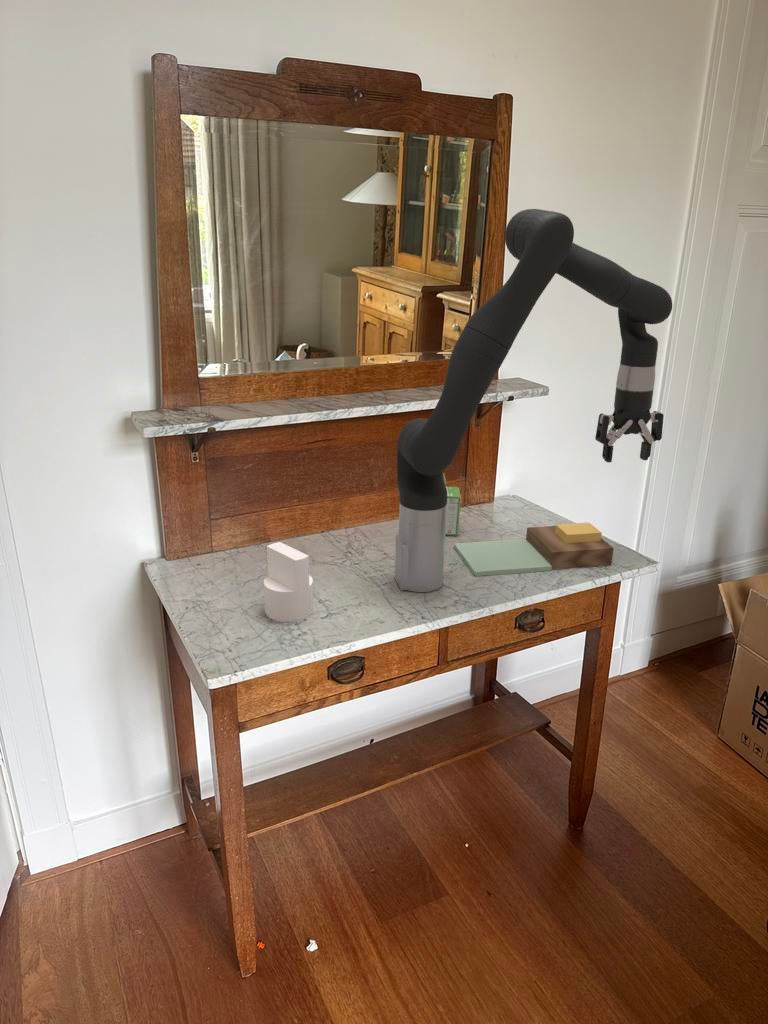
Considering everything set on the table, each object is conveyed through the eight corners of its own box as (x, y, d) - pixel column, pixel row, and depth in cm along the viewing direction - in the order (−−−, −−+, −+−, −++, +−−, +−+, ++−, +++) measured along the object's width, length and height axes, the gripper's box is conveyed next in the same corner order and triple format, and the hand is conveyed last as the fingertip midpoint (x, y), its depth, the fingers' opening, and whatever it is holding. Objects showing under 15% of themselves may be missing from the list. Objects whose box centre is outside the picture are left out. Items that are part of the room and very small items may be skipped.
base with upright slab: (255, 609, 141) (252, 550, 136) (293, 594, 147) (291, 537, 142) (284, 626, 135) (282, 565, 131) (323, 610, 141) (322, 551, 136)
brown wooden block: (550, 569, 160) (552, 552, 158) (525, 543, 173) (527, 527, 171) (611, 565, 163) (613, 548, 161) (582, 539, 175) (584, 524, 174)
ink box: (458, 536, 176) (462, 481, 171) (441, 536, 176) (444, 481, 171) (456, 525, 182) (460, 472, 178) (440, 524, 182) (443, 472, 178)
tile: (566, 543, 163) (567, 534, 162) (555, 532, 168) (555, 524, 168) (600, 541, 165) (601, 532, 164) (588, 530, 170) (589, 522, 169)
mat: (474, 576, 156) (475, 571, 156) (453, 547, 170) (453, 543, 169) (551, 570, 159) (552, 566, 159) (524, 542, 173) (525, 538, 173)
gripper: (612, 391, 153) (603, 467, 159) (675, 388, 156) (665, 463, 161) (595, 383, 160) (587, 457, 165) (656, 381, 162) (646, 453, 168)
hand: (625, 460), depth 163 cm, fingers open, 8 cm apart
